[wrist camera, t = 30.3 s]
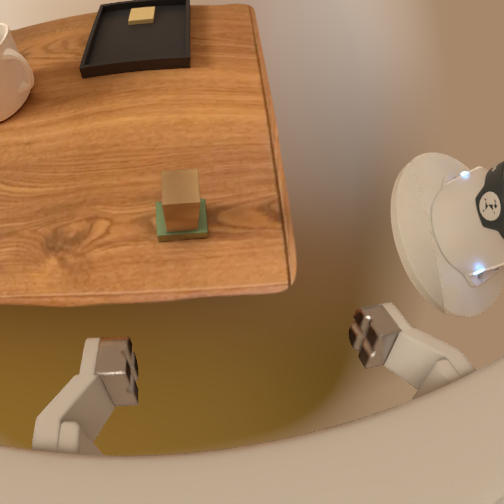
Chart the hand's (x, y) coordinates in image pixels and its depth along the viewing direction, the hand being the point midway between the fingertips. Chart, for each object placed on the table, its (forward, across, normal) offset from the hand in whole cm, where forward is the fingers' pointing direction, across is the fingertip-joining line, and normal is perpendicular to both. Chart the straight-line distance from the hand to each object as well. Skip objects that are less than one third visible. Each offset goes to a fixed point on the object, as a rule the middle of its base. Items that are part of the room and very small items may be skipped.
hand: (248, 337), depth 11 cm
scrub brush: (+23, +2, +7) cm, 24 cm away
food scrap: (+48, +8, -19) cm, 52 cm away
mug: (+39, +27, -8) cm, 48 cm away
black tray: (+45, +8, -15) cm, 48 cm away
